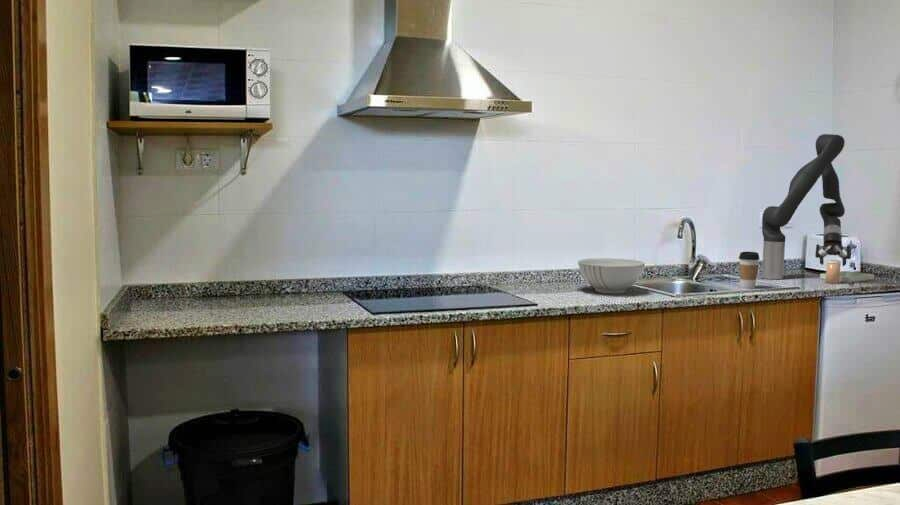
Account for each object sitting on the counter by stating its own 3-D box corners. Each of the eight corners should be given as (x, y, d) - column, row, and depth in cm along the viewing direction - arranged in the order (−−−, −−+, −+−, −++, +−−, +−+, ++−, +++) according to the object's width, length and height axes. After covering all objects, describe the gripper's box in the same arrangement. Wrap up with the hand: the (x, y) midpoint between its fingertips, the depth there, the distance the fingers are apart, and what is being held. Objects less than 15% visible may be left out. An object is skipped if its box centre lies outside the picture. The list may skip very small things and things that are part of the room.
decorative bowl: (578, 295, 308) (578, 265, 306) (576, 285, 334) (577, 257, 333) (647, 297, 304) (648, 266, 303) (640, 287, 330) (641, 258, 329)
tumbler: (825, 283, 345) (827, 261, 344) (824, 281, 350) (826, 259, 349) (839, 284, 343) (841, 262, 342) (838, 282, 348) (840, 260, 347)
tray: (848, 283, 347) (849, 277, 347) (819, 279, 359) (820, 273, 359) (873, 279, 358) (874, 274, 357) (844, 276, 369) (845, 270, 369)
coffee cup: (759, 287, 333) (761, 252, 331) (755, 289, 326) (757, 254, 324) (739, 285, 338) (741, 251, 336) (735, 287, 330) (736, 252, 329)
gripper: (816, 231, 357) (816, 258, 348) (850, 232, 352) (851, 260, 343) (814, 241, 363) (814, 268, 353) (848, 242, 357) (849, 270, 348)
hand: (833, 264), depth 348 cm, fingers open, 8 cm apart
